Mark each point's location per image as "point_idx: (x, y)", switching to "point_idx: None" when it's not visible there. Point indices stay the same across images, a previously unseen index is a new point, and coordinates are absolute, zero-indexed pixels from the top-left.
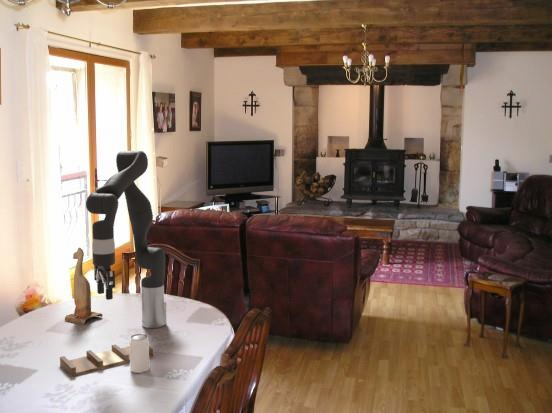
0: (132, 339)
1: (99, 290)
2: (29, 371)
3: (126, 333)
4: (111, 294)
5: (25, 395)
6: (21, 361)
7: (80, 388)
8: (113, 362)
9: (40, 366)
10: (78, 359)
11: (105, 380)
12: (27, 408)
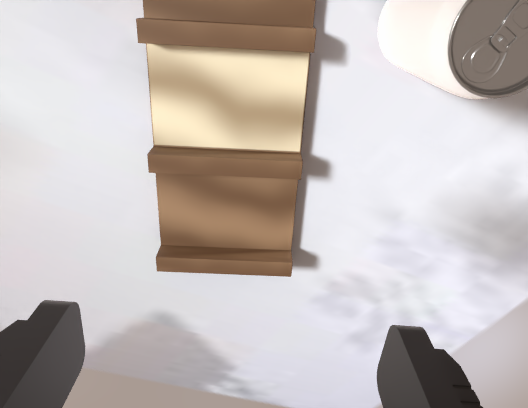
0: (498, 94)
1: (61, 385)
2: (162, 331)
3: None
4: (472, 403)
5: (322, 377)
6: None
7: (393, 267)
8: (298, 104)
9: (139, 299)
10: (171, 200)
11: (401, 185)
12: None
